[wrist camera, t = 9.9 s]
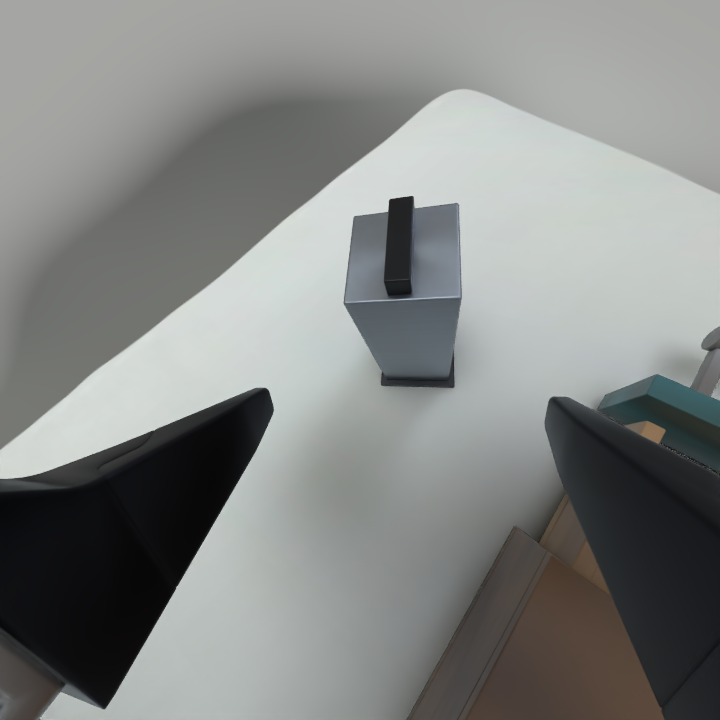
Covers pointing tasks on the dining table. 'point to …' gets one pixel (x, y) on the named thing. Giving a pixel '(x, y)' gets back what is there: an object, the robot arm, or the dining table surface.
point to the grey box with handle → (407, 290)
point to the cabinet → (538, 649)
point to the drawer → (658, 423)
